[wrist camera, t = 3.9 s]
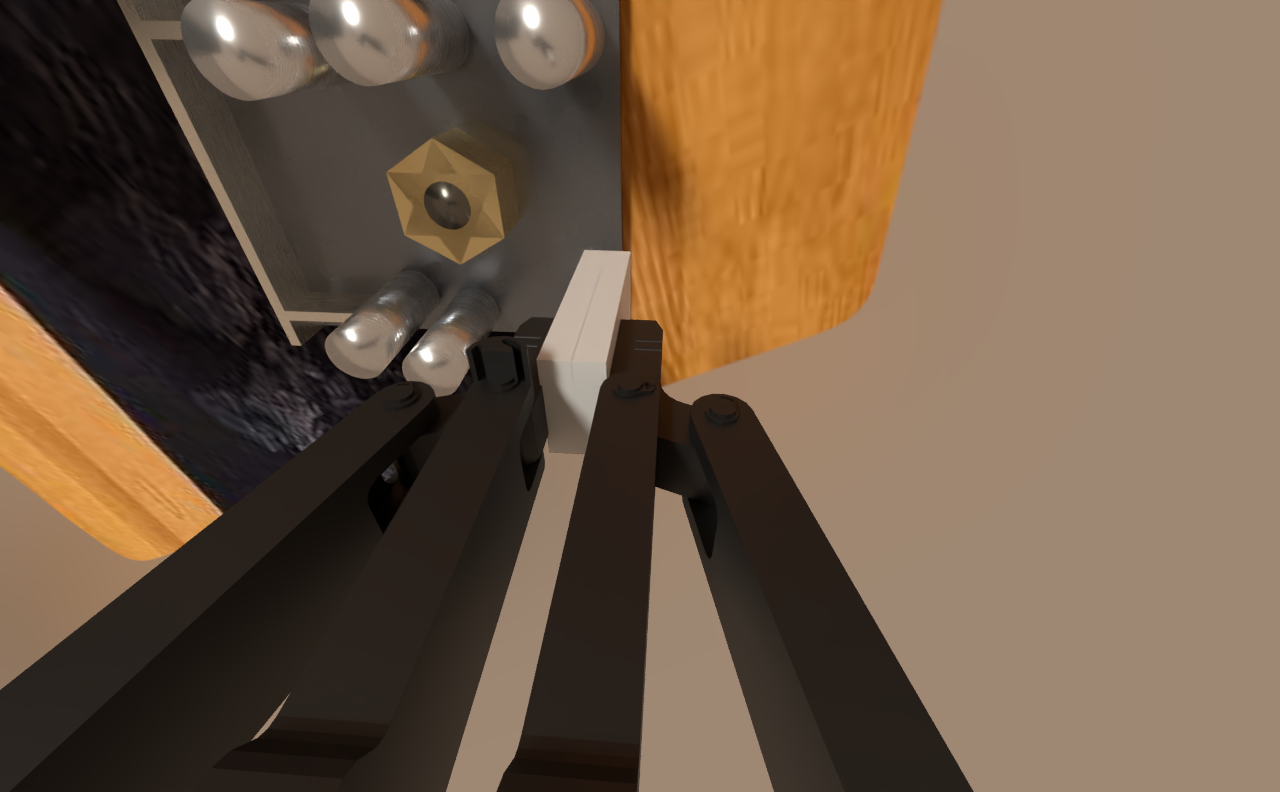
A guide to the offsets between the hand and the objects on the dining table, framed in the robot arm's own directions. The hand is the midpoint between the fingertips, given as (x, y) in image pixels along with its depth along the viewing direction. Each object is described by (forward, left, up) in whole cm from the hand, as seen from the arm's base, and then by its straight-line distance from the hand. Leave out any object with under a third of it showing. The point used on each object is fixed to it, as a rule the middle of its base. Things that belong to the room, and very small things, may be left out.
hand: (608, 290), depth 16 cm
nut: (-8, 0, -11) cm, 14 cm away
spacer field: (-10, 0, -12) cm, 16 cm away
